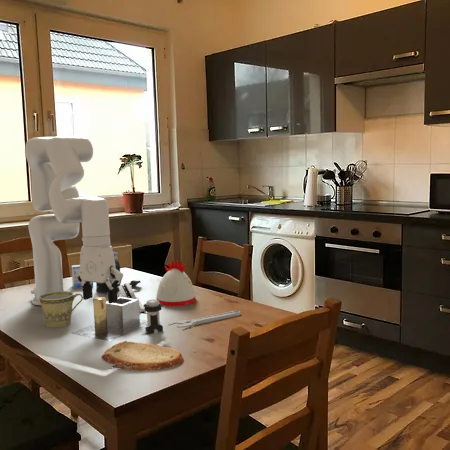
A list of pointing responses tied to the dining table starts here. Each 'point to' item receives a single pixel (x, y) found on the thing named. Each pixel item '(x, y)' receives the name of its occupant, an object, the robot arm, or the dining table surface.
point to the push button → (153, 317)
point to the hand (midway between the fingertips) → (100, 300)
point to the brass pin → (100, 315)
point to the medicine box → (74, 277)
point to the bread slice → (142, 356)
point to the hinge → (130, 295)
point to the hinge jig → (117, 320)
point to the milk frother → (103, 286)
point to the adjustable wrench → (205, 319)
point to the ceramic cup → (58, 307)
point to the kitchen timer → (175, 287)
